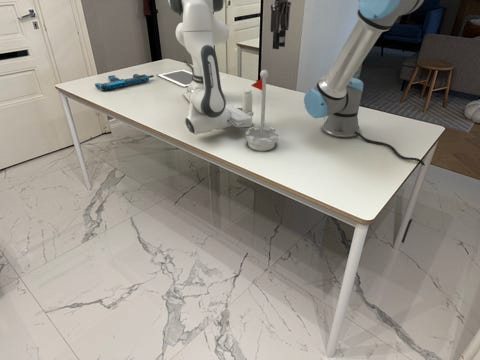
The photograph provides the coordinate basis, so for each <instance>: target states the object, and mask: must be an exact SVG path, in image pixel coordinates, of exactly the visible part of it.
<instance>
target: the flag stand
mask: <svg viewBox="0 0 480 360" xmlns="http://www.w3.org/2000/svg"><path fill="white" fill-rule="evenodd" d="M259 75H260V79H259V80H257V81H256V82H253V84H251V85H250V86H251V87H253V88H256V89H258V90H260V91H261V95H260V97H261V98H260V99H261V100H260V125H258V128H255V127H254V126H250V127H248V130H246V131H245V140H246V141H247V145H248V147H249V148H250V149H252V150H254V151H259V152H260V151H261V152H263V151H264V152H265V151H270V150H272V149H274V148H275V147H276V143H277V142H278V140H279V131H278V130H276V128H274V127H272V126H270V127H268V128H266V127H265V121H266V119H265V118H266V95H267V94H266V93H267V92H266V91H267V78H268V77H269V71H268V70H266V69H262V70H261V71H260V74H259Z"/></svg>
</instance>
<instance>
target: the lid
mask: <svg viewBox="0 0 480 360" xmlns="http://www.w3.org/2000/svg"><path fill="white" fill-rule="evenodd" d="M281 42H285V43H286V36H283V35H280V40H279V43H281Z"/></svg>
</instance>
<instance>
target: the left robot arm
mask: <svg viewBox="0 0 480 360" xmlns="http://www.w3.org/2000/svg"><path fill="white" fill-rule="evenodd" d="M225 1H226V0H167V2H168V4H169V6H170V9H171V11H173V12H174V13H176V14H178V16H180V17H181V16H182V22H179V23H178V24H177V26H176V28H175V37H176V40H177V41H178V43H179V44H180V45H181V46H183V47H184V48H185V50H186V51H187V52H188V54H189V55H190V57H191V61H192V66H193V67H192V66H191V64H189V63H188V62H187V60H184V61H183V62H184V63H185V64H186V65H187V66H189V67H190V69H191V73H193V74H192V82H191V83H190V84H189V85H188V86H187V87H186V92H185V93H183V96H184V97H185V98H186V100H187V101H188V112H187V114H186V116H185V119H184V120H185V126H186V128H187V129H188V131H189V132H190V133H191V134H193V135H202V134H207V133H211V132H212V131H215V130H217V131H218V130H223V129H226V128H229V127H230V126H231V125H232V126H234V127H236V128H245V127H244V126H249V125H251V124H252V125H253V116H254V111H253V110H252V111H249V112H248V113H244V112H243V111H242V107H239V106H237V107H235V106H234V105H232V104H230V103H228V102H227V101H226V97H225V95H224V93H223V89H222V84H221V78H220V77H221V75H220V69H219V63H218V56H217V53H216V49H215V46H219V45H224V44H226V43H227V41H228V39H229V37H230V30H229V29H230V28H229V27H228V25H227V24H226V23H225V22H224V21H221V19H219V18H217V16H215V14H214V13H218V12H221V11H222V10H223V8H224V6H225ZM251 116H252V117H251Z"/></svg>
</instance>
